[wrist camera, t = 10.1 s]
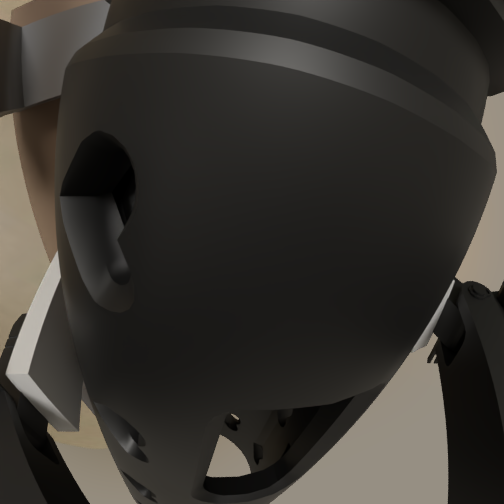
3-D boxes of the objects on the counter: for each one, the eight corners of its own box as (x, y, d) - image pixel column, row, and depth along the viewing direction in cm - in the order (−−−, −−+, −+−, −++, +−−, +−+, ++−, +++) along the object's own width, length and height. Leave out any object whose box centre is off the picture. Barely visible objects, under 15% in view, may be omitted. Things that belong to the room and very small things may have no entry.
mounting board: (113, 376, 21) (112, 435, 16) (19, 13, 7) (-33, -8, 3) (324, 334, 25) (354, 382, 20) (344, -13, 11) (407, -34, 7)
